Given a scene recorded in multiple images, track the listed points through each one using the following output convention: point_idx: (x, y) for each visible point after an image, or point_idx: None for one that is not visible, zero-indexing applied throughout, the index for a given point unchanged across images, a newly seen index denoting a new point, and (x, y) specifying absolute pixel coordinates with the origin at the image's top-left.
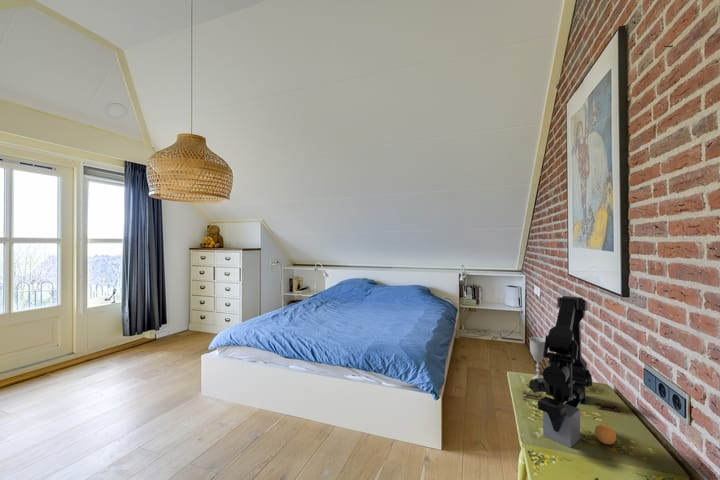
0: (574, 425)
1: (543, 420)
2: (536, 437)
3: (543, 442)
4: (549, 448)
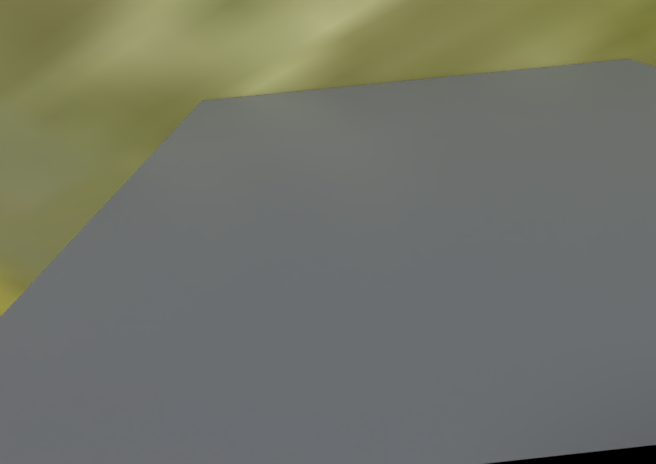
0: None
1: (89, 236)
2: (41, 68)
3: (46, 194)
4: (20, 292)
